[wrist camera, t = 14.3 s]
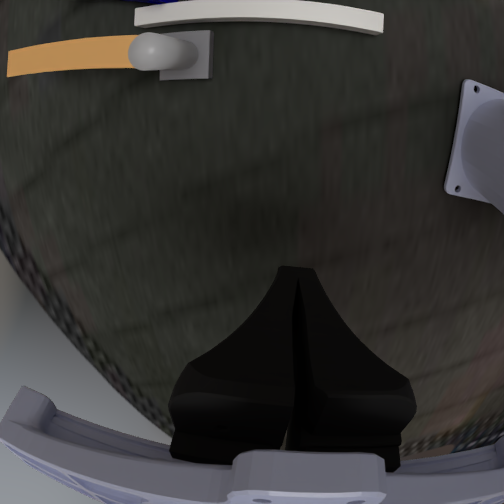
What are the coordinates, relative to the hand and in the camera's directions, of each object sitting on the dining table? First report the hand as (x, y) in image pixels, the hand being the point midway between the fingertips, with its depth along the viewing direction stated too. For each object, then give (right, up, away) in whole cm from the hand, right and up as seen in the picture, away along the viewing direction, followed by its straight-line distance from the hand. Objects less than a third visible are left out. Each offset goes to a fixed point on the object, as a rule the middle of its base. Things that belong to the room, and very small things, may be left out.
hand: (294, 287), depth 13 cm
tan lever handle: (-10, +13, +3) cm, 17 cm away
